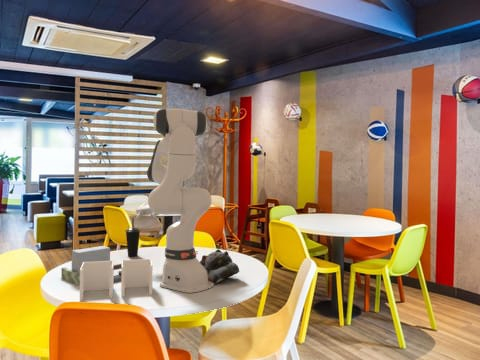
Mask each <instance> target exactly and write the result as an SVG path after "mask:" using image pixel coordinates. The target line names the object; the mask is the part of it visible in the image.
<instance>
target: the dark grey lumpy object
mask: <svg viewBox="0 0 480 360" xmlns="http://www.w3.org/2000/svg"><path fill="white" fill-rule="evenodd" d="M201 257H202V258H201V260H200V261H199V262H200V263H201V264H202V266H203V267H205V269H206V270H207V273H208V281H210V282H213V283H216V284H218V283H219V282H221V281H224V280H226V279H228V278H230V277H233V276H235V275H237V274H238V273H240V268H239V266H238V264H237V263H234V262H233V260H232V258H231V256H230V255H229V252H228V251H226V250H225V251H222V250H220V249H216V250H215V251H213V252H210V253H209V254H208V255H206V254H205V255H202V256H201Z"/></svg>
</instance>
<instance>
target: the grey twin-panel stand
mask: <svg viewBox="0 0 480 360" xmlns="http://www.w3.org/2000/svg"><path fill="white" fill-rule="evenodd" d="M114 263H115V261H114V260H110V261H98V262H83V264H82V266H81V268H80V285H79V300H80V301H84V292H85V291H97V290H98V291H99V290H109V291H108V292H109V294H108V298H109V299H110V298H111V299H113V295H114V288H115V287H114V283H115V282H114V276H115V274H114V273H115V272H114V270H115V269H114V265H115V264H114ZM121 264H122V267H121V270H120V271H121V281H120V282H121V286H120V287H121V288H120V289H121V291H120V292H121V295H120V296H121V298H124V297H125V291H126V290H125V289H126V288H127V289H128V288H129V289H130V288H141V287H142V288H143V287H144V288H145V287H149V288H148V292H149V293H148V295H149V296H152V295H153V274H154V273H153V262H152V259H151V258H145V259H143V258H141V259H124V260H121Z"/></svg>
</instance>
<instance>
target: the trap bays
mask: <svg viewBox="0 0 480 360" xmlns="http://www.w3.org/2000/svg"><path fill="white" fill-rule="evenodd" d="M119 282H121V272H119V271H118V274H114V283H119Z"/></svg>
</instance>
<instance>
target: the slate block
mask: <svg viewBox="0 0 480 360" xmlns="http://www.w3.org/2000/svg"><path fill="white" fill-rule="evenodd" d="M98 261H111V248H110V247H109V246H105V245H99V246H93V247H87V248H80V249H79V248H78V249H71V270H73V271H75V272H77V273H80V268H81V266H82V264H83V262H98Z"/></svg>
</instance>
